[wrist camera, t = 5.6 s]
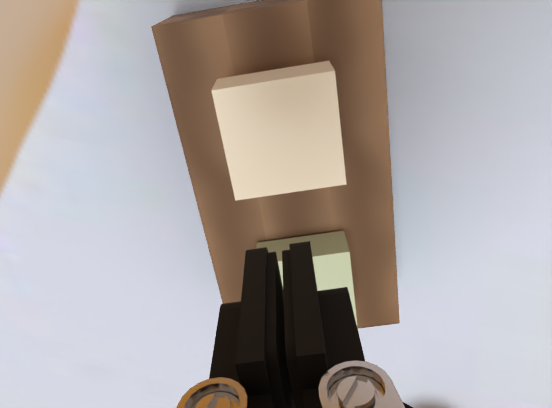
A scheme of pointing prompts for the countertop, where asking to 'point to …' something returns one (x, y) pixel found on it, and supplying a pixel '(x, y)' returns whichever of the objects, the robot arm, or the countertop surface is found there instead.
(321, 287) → the pale green block
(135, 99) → the countertop surface
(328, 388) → the robot arm
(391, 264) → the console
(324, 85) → the cream block
